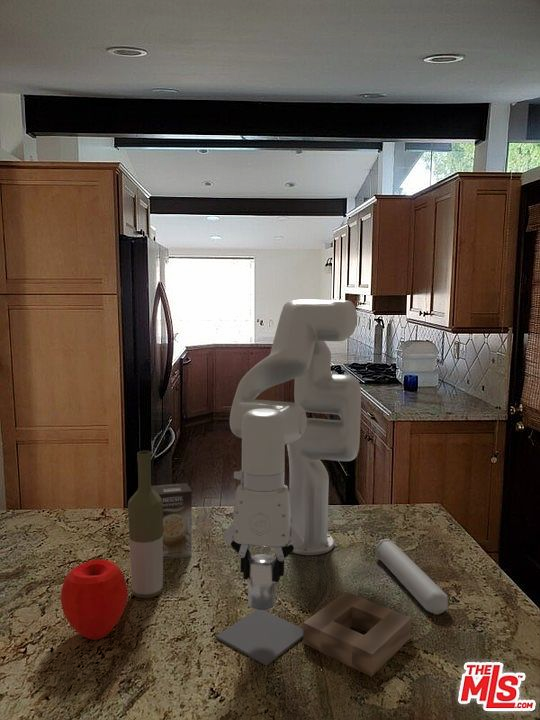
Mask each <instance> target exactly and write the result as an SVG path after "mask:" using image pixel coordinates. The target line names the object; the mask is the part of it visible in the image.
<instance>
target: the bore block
mask: <svg viewBox="0 0 540 720" xmlns="http://www.w3.org/2000/svg"><path fill="white" fill-rule="evenodd" d="M302 625H303V626H302V628H303V638H302V644H303V643H304V645H305V644H306V645H305V646H307V645H308V646H307V647H309V646H310V647H309V648H311V647H312V648H311V649H313V648H314V649H313V650H315V649H316V651H318V652H320V653H322V654H323V655H326V656H327V657H330V658H332V659H333V660H336V661H338V662H340V663H341V664H344V665H346V666H348V667H351V668H352V669H355V670H357V671H358V672H360V673H362V674H365V675H367V676H369V677H370V678H372V677H373V676H374V675H375V674H376V673H378V672H379V670H380V669H381V668H382V667H383V666H384V665H385V664H386V663H387V662H388V661H389V660H390V659H392V657H394V655H395V654H396V653H398V652H399V651H400V649H401V648H402V647H403V646H405V644H406V643H408V642H409V641H410V640H411V637H412V617H411V616H409V615H406V614H404V613H401V612H399V611H396V610H394V609H392V608H391V609H390V608H388V607H386V606H384V605H381V604H378V603H376V602H374V601H371V600H368V599H366V598H363V597H361V596H359V595H356V594H353V593H351V592H348V591H344V592H343V593H342V594H340V595H339V596H338V597H336V598H335V599H334V600H332V601H331V602H330V603H328V604H327V605H325V606H324V607H322V608H321V609H320V610H318V611H317V612H316V613H315V614H313V615H311V617H309V618H308V619H306V620H305V621H303V624H302ZM352 626H353V628H355V629H357V628H358V630H359V629H360V631H361V630H362V631H361V632H364V631H365V632H364V633H365V634H363V633H360V632H358V631H357V630H353V629H351V628H352ZM366 632H367V633H366Z"/></svg>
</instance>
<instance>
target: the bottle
mask: <svg viewBox="0 0 540 720" xmlns="http://www.w3.org/2000/svg"><path fill="white" fill-rule="evenodd" d="M136 457H137V478H138V479H137V481H138V482H137V483H138V484H137V485H138V486H137V490H136V491H135V492H134V493H133V495H131V496H130V498H129V500H128V502H127V514H128V516H127V517H128V520H127V521H128V534H129V535H128V537H129V538H128V539H129V542H128V543H129V558H130V559H129V561H130V562H129V563H130V579H131V581H130V582H131V591H132V594H133V596H135V597H136V598H139V599H152V598H154V597H156V596H158V595H160V594H161V592H162V591H163V587H164V562H163V561H164V560H163V502H162V499H161V497H160V496H159V495H158V494H157V493H156V492H155V491H154V490H153V489H152V487H151V486H152V452H151V451H150V450H140V451H138V452H137V456H136Z"/></svg>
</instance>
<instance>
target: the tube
mask: <svg viewBox="0 0 540 720" xmlns="http://www.w3.org/2000/svg"><path fill="white" fill-rule="evenodd" d="M374 550H375V551H374V553H375V554H374V556H375V557H376V558H377V559H378V560H380V561H381V562H382V563H383V564H384V566H386V567H387V569H388V570H389V572H391V573H392V574H393V575H394V577H396V578H397V580H398V581H399V582H400V583H401V585H403V586H404V587H405V589H407V591H408V592H409V593H410V594H411V595H412V596H413V597H414V599H416V601H417V602H418V603H419V604H420V605H421V606H422V607H423V608H424V609H425V611H427V612H429V613H431V614H432V613H433V615H435V616H436V615H437V616H439V615H440V614H443V613H444V612H445V611H446V610H448V608H449V605H448V594H447V593H445V591H444V590H443V589H442V588H441V587H439V586H438V584H436V583H435V582H434V581H433V580H432V579H431V577H429V576H428V575H427V574H426V573H425V572H424V571H423V570H422V569H421V568H420V567H419V566H418V565H417V564H416V563H415V562H414V561H413V560H412V559H411V558H410V557H409V556H408V555H407V553H405V552H403V550H402V549H401V548H400V547H398V546H397V543H396V542H395V541H393V540H392V539H390V538H383V539H380V540H379V541H378V543H377V545H376V546H375V549H374Z"/></svg>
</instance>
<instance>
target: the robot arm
mask: <svg viewBox="0 0 540 720" xmlns="http://www.w3.org/2000/svg"><path fill="white" fill-rule="evenodd" d="M357 322H358V313H357V309H356V306H355V304H354V303H353V302H352V301H351V300H347V299H346V300H345V299H344V300H343V299H314V298H313V299H310V298H308V299H293V300H290V301H288V302H286V303H284V304H283V307H282V310H281V313H280V316H279V320H278V322H277V325H276V326H277V327H276V331H275V334H274V339H273V343H272V346H271V348H270V353H269V355H268V356H266V357H265V358H263V359H262V360H260V361H259V362H258V363H256V364H255V365H254V366H253V367H252V368H250V369H249V370H248V371H247V372H246V373H245V374H244V376H243V377H242V378H241V379H240V381H239V383H238V386H237V387H236V391H235V393H234V394H235V395H234V398H233V401H232V404H231V409H230V414H229V427H230V430H231V433H233V435H235V437H237V438H239V439H241V469H240V470H238V471H237V470H236V471H235V470H234V473H233V479H234V480H235V479H236V480H238V481H239V482H240V484H239V485H237V487H236V491H235V497H234V505H233V506H234V507H233V515H232V516H233V517H232V522H231V523H230V525H228V527H227V528H226V529H224V531H223V533H222V534H221V535H222V536H221V537H222V539H223V540H224V541H225V542H226V543H228V544H230V546H231V548H232V549H233V550H234V551H235V552H236V553H237V555H238V557H239V558H240V573H242V574H243V576H242V577H243V578H242V579H243V580H245V581H246V580H247V579H248V562H249V558H250V557H252V553H251V551H250V549H249V546H255V547H263V548H264V547H265V548H266V547H267V548H274V550H275V555H276V556H275V558H276V559H275V573H274V581H275V582H276V583H279V582H280V579H281V577H284V574H285V559H286V558H287V557H289V556H290V555H291V554H292V553H294V554H297V555H302V556H317V555H323V554H325V553H328V552H330V551H331V550H332V549H333V548H334V546H335V545H334V544H335V543H334V542H335V541H334V539H333V537H332V536H331V535H330V534H329V533H328V531H329V530H328V527H329V526H328V525H329V524H328V523H329V485H330V481H329V480H330V478H329V473H328V471H327V467H325V465H324V463H323V462H322V461H321V460H326V461H336V462H351V461H353V460H355V459H356V458H357V457H358V453H359V451H360V440H361V439H360V438H361V419H362V418H361V417H362V414H361V413H362V411H361V410H362V390H361V383H360V382H359V380H358V379H357V378H356V377H354V376H353V375H349V374H337V373H332V370H331V369H332V368H331V367H332V353H331V349H330V348H329V347H328V345H327V343H326V342H344V341H346V340H348V339H349V338H350V337H352V335H353V334H354V333H355V330H356V328H357ZM291 380H294V386H293V387H294V389H293V390H294V391H293V395H294V396H293V397H294V398H293V399H294V402H293V401H282V400H278V401H277V400H269V399H268V400H266V399H257V397H258V396H259V395H260V394H261V393H263V392H264V391H266V390H268V389H269V388H272V387H275V386H277V385H280V384H284V383H286V382H288V381H291ZM307 413H313V414H325V415H326V414H329V415H338V416H339V418H340V419H328V418H327V419H325V418H315V417H314V418H313V417H307ZM286 447H287V455H288V465H289V466H288V467H289V481H288V482H289V483H288V485H289V488H288V486H287V485H286V484H285V474H286V473H285V471H286V469H285V468H286V467H285V466H286V465H285V462H286V457H285V456H286V449H285V448H286Z"/></svg>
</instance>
